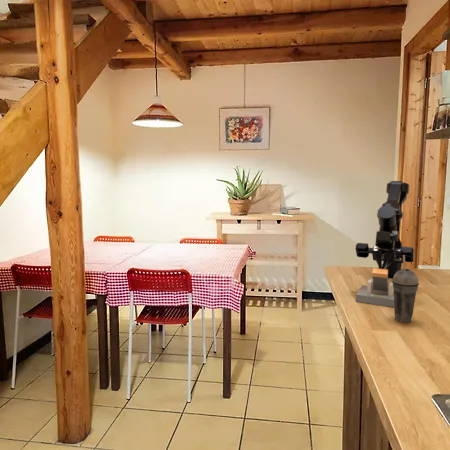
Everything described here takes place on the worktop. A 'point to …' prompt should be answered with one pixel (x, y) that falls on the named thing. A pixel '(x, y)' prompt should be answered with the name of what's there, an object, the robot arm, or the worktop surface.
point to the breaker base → (375, 295)
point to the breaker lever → (380, 279)
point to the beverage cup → (404, 293)
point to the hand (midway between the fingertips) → (380, 273)
